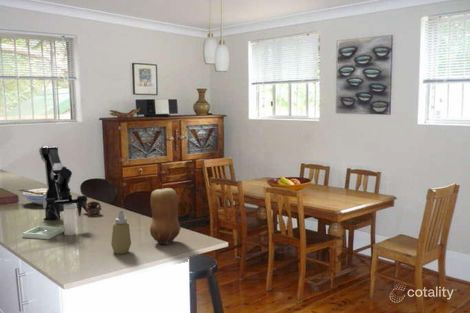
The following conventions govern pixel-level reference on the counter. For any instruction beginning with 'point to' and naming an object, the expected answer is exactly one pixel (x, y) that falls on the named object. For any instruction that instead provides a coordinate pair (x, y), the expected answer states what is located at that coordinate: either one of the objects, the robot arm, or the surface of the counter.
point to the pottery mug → (92, 207)
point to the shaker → (69, 219)
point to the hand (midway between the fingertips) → (69, 217)
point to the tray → (39, 230)
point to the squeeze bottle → (121, 235)
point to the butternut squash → (164, 215)
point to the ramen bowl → (35, 195)
